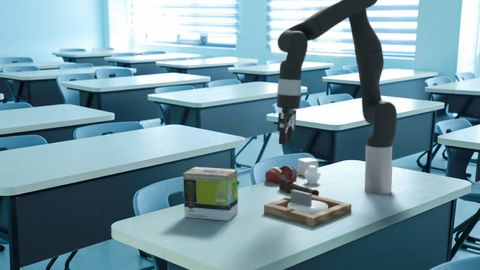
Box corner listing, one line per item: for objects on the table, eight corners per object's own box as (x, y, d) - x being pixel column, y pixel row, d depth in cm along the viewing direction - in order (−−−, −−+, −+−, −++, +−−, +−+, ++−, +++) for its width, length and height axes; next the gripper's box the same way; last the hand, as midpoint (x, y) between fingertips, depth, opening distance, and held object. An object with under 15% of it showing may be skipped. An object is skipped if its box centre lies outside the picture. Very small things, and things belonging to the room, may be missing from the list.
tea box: (238, 212, 199) (238, 168, 197) (227, 222, 190) (227, 175, 187) (195, 208, 204) (195, 165, 202) (183, 217, 195) (182, 172, 192)
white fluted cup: (302, 183, 234) (302, 166, 233) (306, 180, 240) (307, 162, 239) (318, 185, 232) (318, 167, 231) (322, 181, 237) (322, 163, 236)
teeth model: (299, 164, 239) (277, 169, 231) (299, 180, 240) (277, 186, 232) (284, 162, 245) (262, 166, 237) (284, 177, 246) (262, 182, 238)
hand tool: (319, 200, 214) (319, 187, 213) (311, 202, 211) (311, 189, 211) (285, 188, 229) (285, 176, 228) (276, 190, 227) (277, 178, 226)
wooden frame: (302, 200, 213) (302, 191, 212) (351, 212, 199) (351, 203, 199) (263, 213, 199) (263, 203, 198) (313, 227, 185) (313, 217, 184)
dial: (336, 209, 199) (336, 193, 198) (311, 219, 190) (311, 201, 189) (304, 201, 208) (304, 186, 207) (279, 210, 199) (279, 193, 198)
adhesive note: (304, 176, 246) (304, 161, 245) (297, 173, 251) (297, 159, 250) (317, 174, 248) (317, 160, 247) (310, 171, 254) (310, 157, 252)
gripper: (295, 95, 191) (291, 146, 194) (305, 93, 205) (301, 141, 207) (271, 93, 194) (268, 144, 196) (283, 91, 207) (280, 138, 209)
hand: (285, 142), depth 202 cm, fingers open, 8 cm apart
